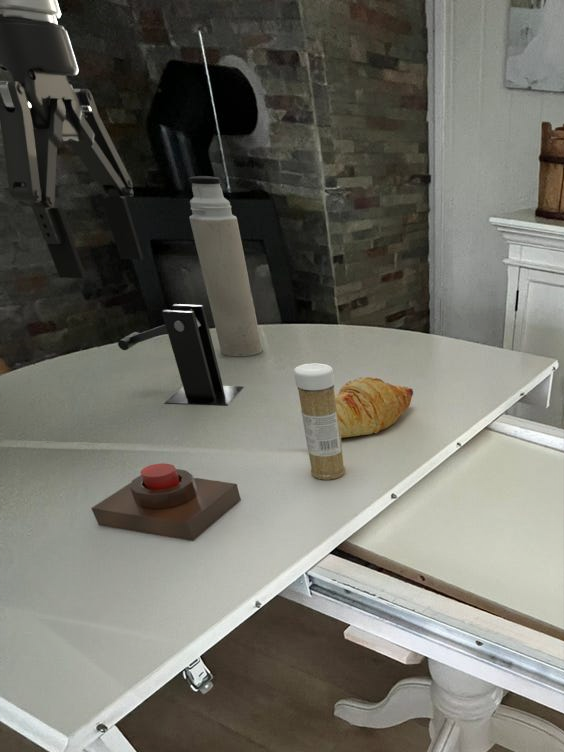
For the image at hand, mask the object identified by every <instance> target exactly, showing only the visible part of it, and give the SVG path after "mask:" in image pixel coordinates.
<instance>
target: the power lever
mask: <svg viewBox="0 0 564 752" xmlns="http://www.w3.org/2000/svg"><path fill="white" fill-rule="evenodd" d="M187 311H193V309H190V310H187ZM194 314H195V313H194ZM195 318H196V321H197V325H198V327H200V326H201V324H200V322H199V320H198V318H197V316H196V314H195ZM165 334H168V332H167V329H166V325H165V324H162V325H159V326H157V327H153V328H150V329H147V330H145V331H142V332H138V331H134V332H132V333H130V334H128V335H126V336H125V337H122V339H120V340H118V341H117V346H118V348H119V349H120V350H122V351H128V350H130V349H131V348H132V347H134V346H136V345H137V344H139V343H141V342H145V341H147V340H151V339H153V338H155V337H159V336H161V335H165Z"/></svg>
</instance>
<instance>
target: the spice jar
mask: <svg viewBox="0 0 564 752" xmlns="http://www.w3.org/2000/svg"><path fill="white" fill-rule="evenodd" d="M293 376H294V383H295V386H296V388H297V391H298V397H299V402H300V403H299V404H300V409H301V417H302V424H303V428H304V436H305V442H306V448H307V453H308V456H309V463H310V469H311V470H310V473H311V475H312V476H313V478H315V479H319V480H325V481H327V480H328V481H331V480H336V479H338V478H340V477H342V476H343V475H344V474H345V473H346V466H345V465H344V457H343V456H344V455H343V449H342V448H343V445H342V444H343V443H342V438H341V435H340V427H339V424H338V416H337V409H336V402H335V390H334V389H335V376H334V371H333V368H332V367H331V366H330V365H328V364H324V363H304V364H301V365H297V366H296V367H295V368H294V369H293Z"/></svg>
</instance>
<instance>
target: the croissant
mask: <svg viewBox="0 0 564 752" xmlns="http://www.w3.org/2000/svg"><path fill="white" fill-rule="evenodd" d="M334 396H335V402H336V409H337V416H338V424H339V427H340V435H341V439H343V438H350V437H359V436H366V435H373V434H377V433H378V432H380V431H383V430H385V429H387V428H389V427H390V426H391V425H393V424H395V423H396V422H397V421H398V420H399V417H401V416H402V414H403V413H404V412H405V411H406V410H407V409H408V408H409V407H410V406H411V402H412V397H413V396H414V390H413V388H410V387H408V386H401V385H393V384H391V383H388V382H385V381H384V380H382V379H381V378H377V377H376V378H373V377H359V378H357V379H353V380H349V381H348V382H346V383H345V384H344V385H343V386H342V387H341V388H340V389H339V392H338V394H334Z"/></svg>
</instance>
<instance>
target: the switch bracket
mask: <svg viewBox="0 0 564 752" xmlns="http://www.w3.org/2000/svg"><path fill="white" fill-rule="evenodd" d="M172 309H173V310H171V309H163V310H162V311H161V314H162V319H163V322H164V325H166V329H167V332H168V333H167V335H168V339H169V343H170V345H171V350H172V353H173V356H174V359H175V363H176V366H177V370H178V373H179V374H178V375H179V377H180V381H181V384H182V387H180V388H179V390H177V391H176V392H175V393H174V394H172V395H171V396H170V398H168V399H167V400H166V401H165V402H163V404H164V405H187V406H188V405H191V406H224V407H228V406H229V405H230V404H231V403H232V402H233V401H234V400H235V399H236V397H237V396H238V395H239V394H240V393H241V392H242V391H243V390H244V389H245V386H237V385H235V386H234V385H223V380H222V376H221V373H220V368H219V364H218V360H217V356H216V351H215V347H214V343H213V339H212V334H211V331H210V327H209V323H208V319H207V315H206V310H205V307H204V305H203V304H183V303H182V304H181V303H179V304H177V303H174V304H173V305H172ZM190 309H193V311H187V310H190ZM194 313H195V314H196V316H197V318H198V320H199V322H200V324H201V326H200V327H198V325H197V321H196V318H195V314H194Z"/></svg>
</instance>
